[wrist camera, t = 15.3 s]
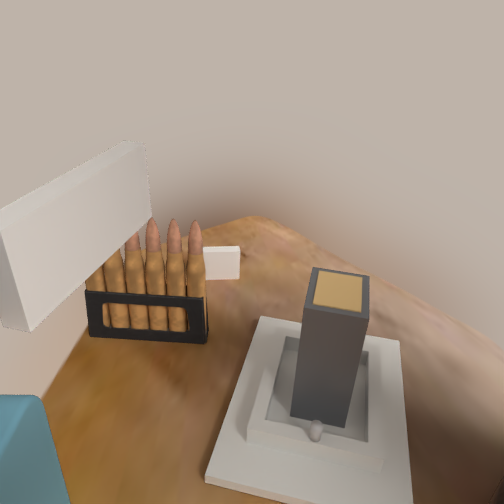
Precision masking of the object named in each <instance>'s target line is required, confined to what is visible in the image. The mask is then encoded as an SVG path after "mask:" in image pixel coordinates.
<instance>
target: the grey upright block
mask: <svg viewBox="0 0 504 504" xmlns="http://www.w3.org/2000/svg"><path fill="white" fill-rule="evenodd" d="M368 322H369V276H366V275H360V274H354V273H347V272H341V271H335V270H328V269H322V268H316V267H313V268H312V273H311V277H310V282H309V287H308V291H307V296H306V300H305V305H304V311H303V318H302V326H301V334H300V341H299V349H298V357H297V364H296V372H295V380H294V387H293V395H292V402H291V410H290V417H295V418H299V419H304V420H308V421H313V420H319V421H321V422H322V424H327V425H331V426H336V427H340V428H345V424H346V419H347V415H348V411H349V406H350V402H351V397H352V393H353V388H354V384H355V380H356V375H357V371H358V366H359V362H360V358H361V353H362V349H363V344H364V340H365V336H366V331H367V327H368Z"/></svg>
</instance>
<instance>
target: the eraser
mask: <svg viewBox="0 0 504 504" xmlns="http://www.w3.org/2000/svg"><path fill="white" fill-rule="evenodd" d="M203 257H204V262H205V269H206V280H222V279H239V272H240V248H239V246H220V247H203Z"/></svg>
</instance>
